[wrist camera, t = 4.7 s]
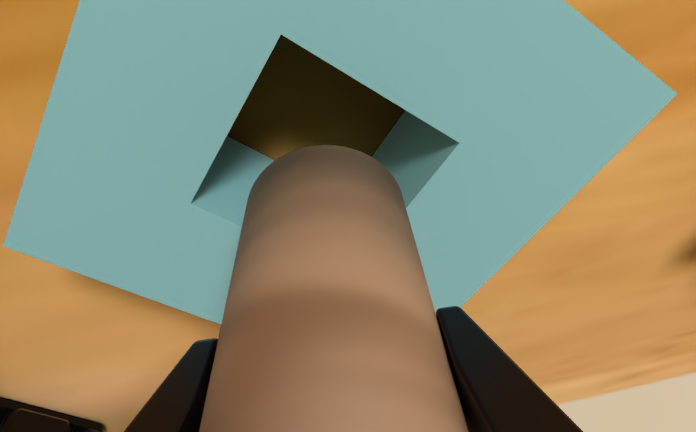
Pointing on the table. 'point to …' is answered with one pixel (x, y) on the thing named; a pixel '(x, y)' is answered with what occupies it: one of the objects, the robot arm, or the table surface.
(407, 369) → the walnut dowel
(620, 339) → the table surface
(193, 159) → the socket block
